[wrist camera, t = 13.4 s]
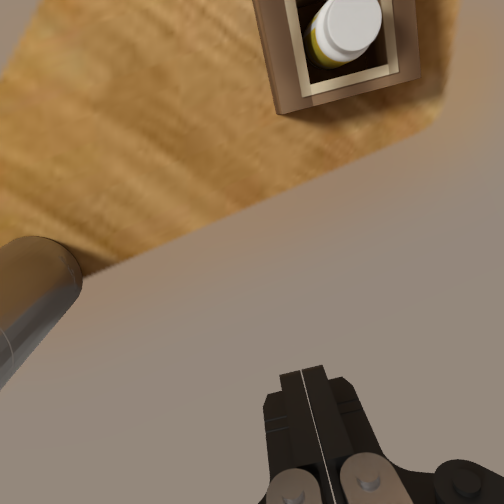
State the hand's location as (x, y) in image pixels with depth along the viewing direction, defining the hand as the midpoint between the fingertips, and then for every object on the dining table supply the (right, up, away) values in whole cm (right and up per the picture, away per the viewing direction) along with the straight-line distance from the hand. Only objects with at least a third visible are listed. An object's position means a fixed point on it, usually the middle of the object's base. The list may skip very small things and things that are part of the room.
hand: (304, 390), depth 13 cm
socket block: (+5, +24, +22) cm, 33 cm away
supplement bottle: (+5, +24, +22) cm, 33 cm away
